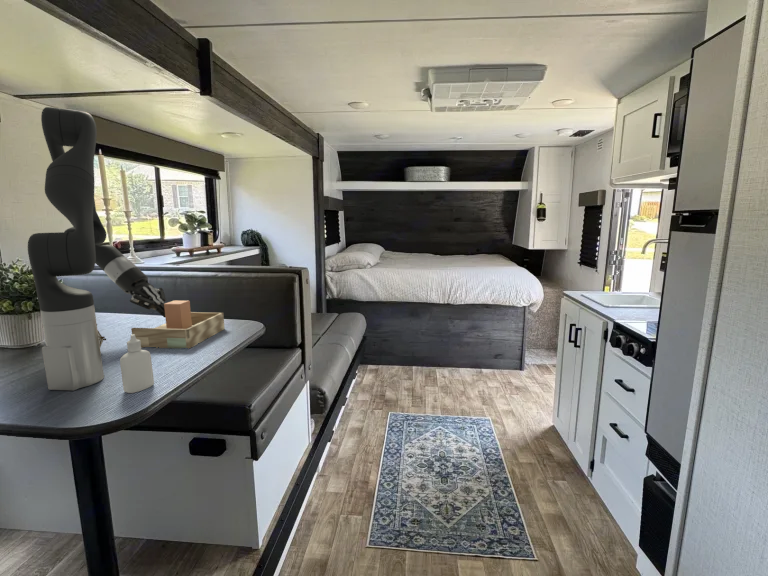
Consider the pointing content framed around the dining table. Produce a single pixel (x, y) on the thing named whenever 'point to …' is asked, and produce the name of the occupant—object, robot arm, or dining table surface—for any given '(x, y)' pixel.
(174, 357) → the dining table surface
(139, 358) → the eye dropper bottle
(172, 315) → the terracotta block
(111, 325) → the dining table surface
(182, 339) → the wooden tray
